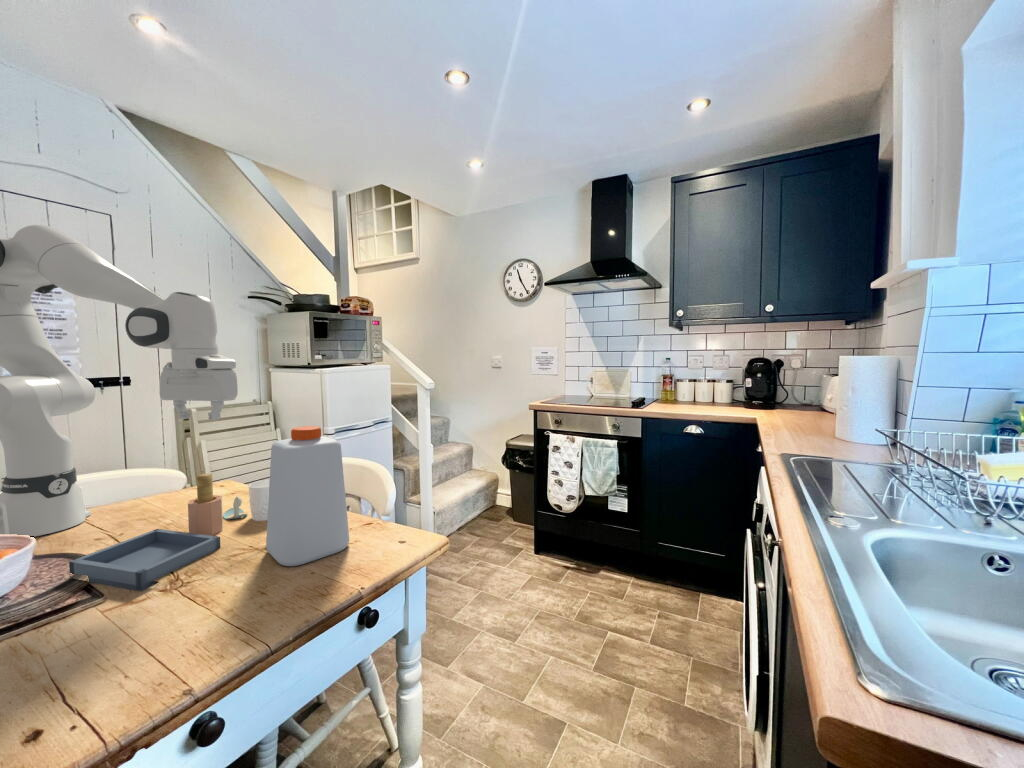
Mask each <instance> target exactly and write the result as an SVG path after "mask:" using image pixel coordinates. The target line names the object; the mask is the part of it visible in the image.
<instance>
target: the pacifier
mask: <svg viewBox="0 0 1024 768" xmlns="http://www.w3.org/2000/svg"><path fill="white" fill-rule="evenodd" d="M242 502H243V501H242V498H241V497H240V496H235V498H234V501H233V506H232V507H231V508H228V509H227V510H225V512H224V513H223V514H222V516H223V519H225V520H235V519H240V518H244V517H246V516H248V513H244V509H242V508H240V507H241V505H242Z"/></svg>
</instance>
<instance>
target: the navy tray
mask: <svg viewBox="0 0 1024 768" xmlns="http://www.w3.org/2000/svg"><path fill="white" fill-rule="evenodd" d="M219 549H221V536H219V535H217V536H215V535H212V536H210V535H202V534H194V533H189V532H186V531H178V530H171V529H162V528H156V529H153V530H150V531H148V532H145V533H142V534H140V535H137V536H134V537H132V538H129V539H125V540H123V541H121V542H118V543H116V544H113V545H111V546H107V547H105V548H102V549H100V550H96V551H94V552H91V553H89V554H86V555H84V556H81V557H78V558H75V559H73V560H70V561H69V562H68V564H69V567H68V568H69V574H70V573H72V574H83V575H87V576H88V578H89V582H88V583H90V584H96V585H102V586H107V587H108V586H109V587H113V588H115V587H116V588H120V589H124V590H131V591H136V592H142V591H145V590H146V589H149V588H151V587H153V586H155V585H157V584H159V583H160V581H156V580H157V579H159V578H162V577H163V576H165V575H168V574H169V573H171V572H174V571H176V570H179V569H180V568H182V567H183V566H186V565H188V564H190V563H192V562H194V561H196V560H198V559H201V558H203V557H204V556H205V557H206V555H208V554H211V553H213V552H215V551H217V550H219Z"/></svg>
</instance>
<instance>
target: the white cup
mask: <svg viewBox="0 0 1024 768" xmlns="http://www.w3.org/2000/svg"><path fill="white" fill-rule="evenodd" d="M269 483H270V478H269V479H263V480H257V481H254V482H251V483H250V484H249V485H248V495H249V496H248V497H249V505H250V507H249V509H250V514H251V520H253V521H256V522H263V521H264V522H265V521H267V519H268V501H269Z"/></svg>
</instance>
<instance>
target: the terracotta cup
mask: <svg viewBox="0 0 1024 768" xmlns="http://www.w3.org/2000/svg"><path fill="white" fill-rule="evenodd" d="M187 513H188V514H187V515H188V516H187V517H188V519H187V520H188V533H194V534H202V535H210V536H215V535H217V534H218V533H221V532H222V531H223V528H224V526H223V524H224V521H223V519H224V517H223V496H222V495H219V494H218V495H216V494H213V501H210V502H204V503H198V499H197V497H196V498H193V499H189V501H188V502H187Z"/></svg>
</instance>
